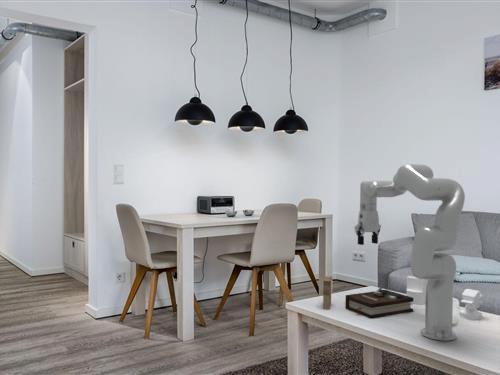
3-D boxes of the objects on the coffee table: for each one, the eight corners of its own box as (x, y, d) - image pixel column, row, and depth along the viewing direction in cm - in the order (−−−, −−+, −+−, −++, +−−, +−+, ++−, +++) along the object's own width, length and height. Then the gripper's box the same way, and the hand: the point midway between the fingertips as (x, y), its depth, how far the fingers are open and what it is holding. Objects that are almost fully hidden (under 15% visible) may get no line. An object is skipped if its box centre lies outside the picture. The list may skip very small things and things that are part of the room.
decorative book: (339, 293, 204) (388, 287, 218) (339, 309, 204) (387, 302, 218) (369, 303, 187) (419, 296, 201) (368, 321, 187) (419, 312, 201)
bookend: (330, 309, 202) (330, 281, 202) (323, 308, 203) (323, 280, 203) (331, 303, 213) (332, 276, 213) (324, 302, 214) (325, 276, 214)
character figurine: (485, 317, 193) (486, 290, 193) (474, 321, 187) (475, 293, 187) (466, 313, 200) (466, 286, 200) (454, 316, 194) (455, 289, 194)
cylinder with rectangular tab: (403, 301, 218) (403, 277, 218) (411, 298, 224) (412, 275, 224) (420, 305, 211) (420, 280, 211) (429, 302, 217) (429, 278, 217)
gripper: (361, 208, 200) (361, 246, 200) (386, 207, 209) (386, 243, 209) (349, 207, 206) (348, 244, 206) (374, 207, 216) (373, 242, 216)
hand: (367, 243), depth 208 cm, fingers open, 9 cm apart
